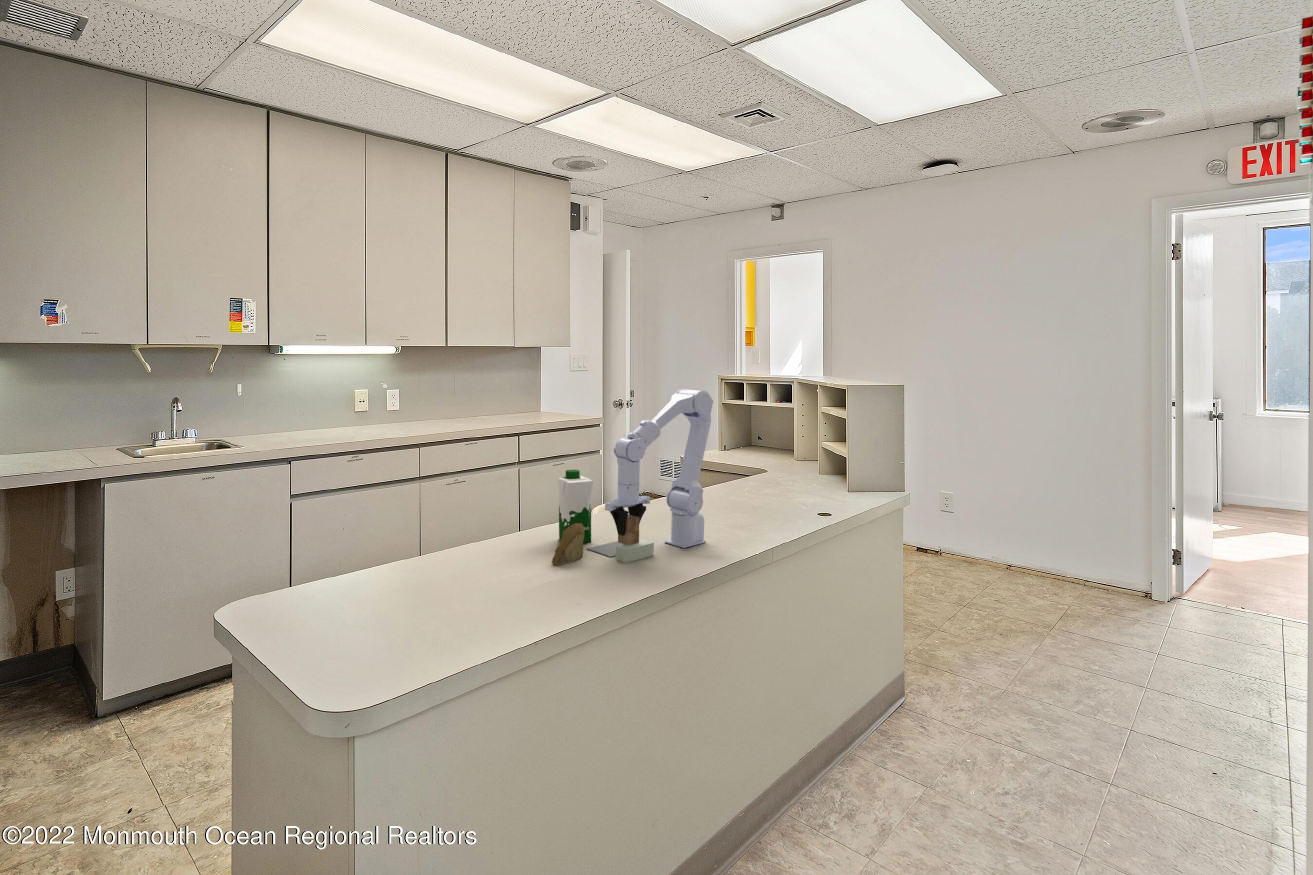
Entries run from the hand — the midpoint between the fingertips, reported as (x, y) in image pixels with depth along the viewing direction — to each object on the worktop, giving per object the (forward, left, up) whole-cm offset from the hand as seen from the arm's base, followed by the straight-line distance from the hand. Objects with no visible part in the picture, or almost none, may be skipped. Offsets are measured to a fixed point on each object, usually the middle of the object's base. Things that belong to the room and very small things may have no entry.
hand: (627, 533), depth 184 cm
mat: (-1, -6, -6) cm, 8 cm away
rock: (+15, -7, -6) cm, 18 cm away
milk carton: (+2, -20, -6) cm, 21 cm away
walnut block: (0, 0, -2) cm, 2 cm away
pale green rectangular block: (0, +3, -6) cm, 7 cm away
